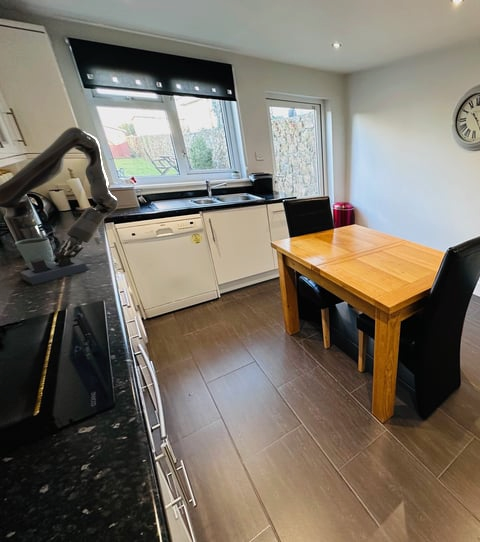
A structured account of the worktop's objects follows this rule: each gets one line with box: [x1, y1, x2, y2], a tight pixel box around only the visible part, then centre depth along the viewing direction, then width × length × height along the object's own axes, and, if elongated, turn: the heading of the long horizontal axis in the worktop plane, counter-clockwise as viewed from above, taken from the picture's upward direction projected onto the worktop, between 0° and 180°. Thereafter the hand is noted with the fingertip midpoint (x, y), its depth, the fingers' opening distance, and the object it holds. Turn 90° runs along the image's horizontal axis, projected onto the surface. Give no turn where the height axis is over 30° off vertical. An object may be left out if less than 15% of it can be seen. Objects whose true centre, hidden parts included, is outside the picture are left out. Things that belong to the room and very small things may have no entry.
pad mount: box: [19, 258, 89, 286], centre depth 121 cm, size 10×18×4 cm, turn 153°
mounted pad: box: [30, 258, 48, 273], centre depth 117 cm, size 4×3×8 cm
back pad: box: [54, 252, 72, 267], centre depth 123 cm, size 4×3×8 cm
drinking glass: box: [14, 237, 56, 270], centre depth 128 cm, size 10×10×12 cm
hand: (58, 263), depth 121 cm, fingers closed on back pad, 4 cm apart
